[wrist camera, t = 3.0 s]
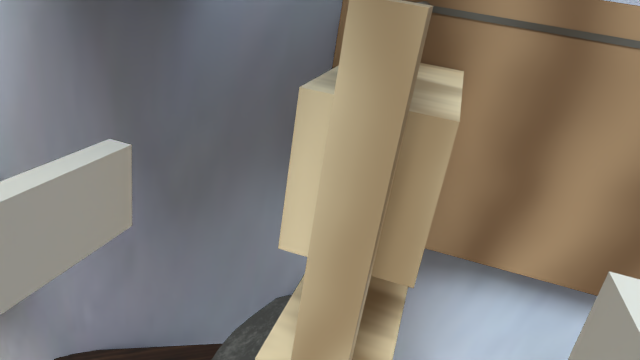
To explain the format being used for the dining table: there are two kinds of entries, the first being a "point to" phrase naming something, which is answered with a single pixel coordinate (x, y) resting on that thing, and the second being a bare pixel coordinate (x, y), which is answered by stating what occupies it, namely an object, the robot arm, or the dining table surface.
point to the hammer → (230, 356)
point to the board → (540, 137)
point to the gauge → (364, 185)
